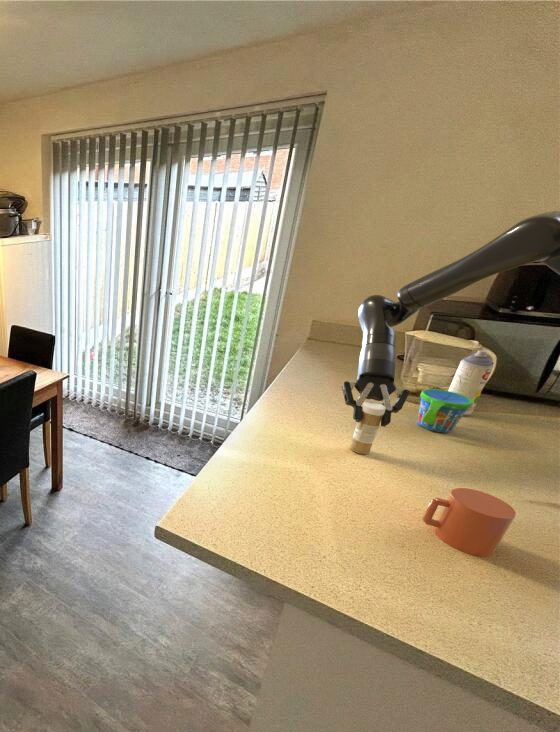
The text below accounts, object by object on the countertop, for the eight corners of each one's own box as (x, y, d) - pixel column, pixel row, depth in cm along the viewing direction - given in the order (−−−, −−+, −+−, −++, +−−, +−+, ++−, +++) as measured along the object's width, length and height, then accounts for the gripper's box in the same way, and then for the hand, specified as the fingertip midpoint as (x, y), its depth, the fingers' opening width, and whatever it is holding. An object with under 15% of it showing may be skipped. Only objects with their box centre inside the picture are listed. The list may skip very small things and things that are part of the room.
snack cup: (426, 414, 122) (438, 384, 118) (470, 429, 113) (485, 397, 109) (397, 425, 116) (408, 394, 112) (441, 442, 107) (456, 409, 103)
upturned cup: (483, 532, 77) (503, 496, 74) (502, 563, 71) (525, 524, 67) (413, 514, 82) (428, 479, 79) (424, 541, 75) (442, 504, 72)
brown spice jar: (348, 443, 107) (363, 399, 102) (369, 448, 104) (385, 403, 99) (349, 451, 103) (363, 406, 98) (370, 456, 101) (386, 410, 96)
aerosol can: (470, 418, 119) (499, 356, 111) (439, 411, 123) (465, 351, 116) (471, 411, 123) (499, 351, 115) (442, 404, 128) (466, 346, 120)
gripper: (347, 353, 104) (340, 412, 99) (417, 361, 97) (414, 425, 92) (340, 365, 110) (333, 422, 105) (405, 373, 104) (401, 434, 99)
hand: (371, 423), depth 99 cm, fingers closed on brown spice jar, 4 cm apart
